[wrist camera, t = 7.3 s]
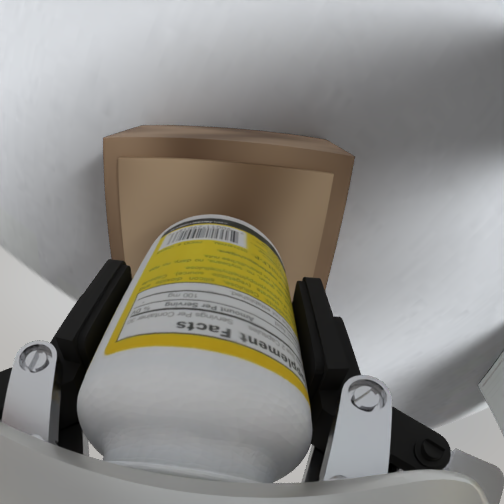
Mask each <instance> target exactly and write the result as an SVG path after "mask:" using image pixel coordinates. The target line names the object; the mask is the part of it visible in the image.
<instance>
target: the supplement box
mask: <svg viewBox="0 0 504 504" xmlns="http://www.w3.org/2000/svg"><path fill="white" fill-rule="evenodd" d="M478 387H479V389H480V391H481V392H482V394H483V396H484V398H485V400H486V402H487V404H488V406H489V407H490V409H491V411H492V413H493V415H494V417H495V419H496V421H497V423H498V425H499V427H500V430H501V432H502V434H503V436H504V351H503V352H502V354H501V355H500V357H499V358H498V359H497V361H496V362H495V364H494V365H493V366H492V368H491V369H490V370H489V372H488V373H487V374H486V376H485V377H484V378H483V379H482V381H481V382H480V383H479V385H478Z"/></svg>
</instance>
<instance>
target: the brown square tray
mask: <svg viewBox="0 0 504 504" xmlns="http://www.w3.org/2000/svg"><path fill="white" fill-rule="evenodd" d="M103 159H104V184H105V200H106V212H107V223H108V233H109V242H110V250H111V258H112V260H121V261H125V262H126V265H129V266H130V267H131V274H132V279H133V277H134V275H135V274H136V272H137V270H138V268H139V266H140V265H141V263H142V261H143V259H144V258H145V256H146V254H147V253H148V251H149V249H150V248H151V246H152V245H153V243H154V242H155V240H156V239H157V238H158V237H159V236H160V235H161V234H162V233H163V232H164V231H165V230H166V229H167V228H169V227H170V226H172V225H173V224H175V223H177V222H179V221H181V220H183V219H186V218H189V217H193V216H198V215H208V214H215V215H225V216H229V217H233V218H236V219H239V220H242V221H244V222H246V223H248V224H250V225H252V226H254V227H255V228H256V229H258V230H259V231H260V232H262V233H263V234H264V235H265V236H266V237H267V238H268V239H269V240H270V241H271V242H272V244H273V245H274V246H275V248H276V249H277V251H278V253H279V255H280V257H281V260H282V262H283V265H284V268H285V272H286V277H287V281H288V286H289V291H290V297H291V302H292V301H293V296H294V291H295V287H296V283H297V281H302V279H303V277H313V278H320V279H321V281H322V284H323V287H324V290H325V288H326V284H327V281H328V277H329V273H330V269H331V265H332V261H333V257H334V253H335V249H336V245H337V240H338V236H339V232H340V228H341V223H342V219H343V214H344V209H345V205H346V200H347V195H348V190H349V185H350V180H351V175H352V170H353V164H354V159H355V156H353V155H351V154H350V153H348V152H346V151H345V150H343V149H341V148H340V147H338V146H336V145H335V144H333V143H331V142H330V141H328V140H326V139H320V138H313V137H307V136H300V135H292V134H284V133H276V132H267V131H258V130H247V129H235V128H221V127H204V126H177V125H142V126H138V127H135V128H132V129H129V130H125V131H122V132H119V133H116V134H113V135H110V136H107V137H104V138H103Z"/></svg>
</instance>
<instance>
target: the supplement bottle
mask: <svg viewBox="0 0 504 504" xmlns="http://www.w3.org/2000/svg"><path fill="white" fill-rule="evenodd" d="M77 414H78V419H79V423H80V425H81V428H82V430H83V432H84V434H85V436H86V437H87V439H88V440H89V442H90V443H91V444H92V445H93V446H94V448H95V449H96V450H97V451H98V452H99V453H100V454H101V455H103V456H104V458H103V461H106V462H110V463H113V464H117V465H121V466H125V467H130V468H134V469H139V470H143V471H148V472H154V473H159V474H165V475H171V476H177V477H184V478H192V479H200V480H210V481H222V482H237V483H273V482H275V481H277V480H279V479H281V478H283V477H284V476H286V475H287V474H289V473H290V472H291V471H293V470H294V469H295V468H296V467H297V466H298V465H299V464H300V463H301V461H302V460H303V459H304V457H305V456H306V454H307V452H308V450H309V447H310V445H311V440H312V419H311V408H310V402H309V397H308V390H307V384H306V378H305V373H304V368H303V362H302V356H301V350H300V345H299V339H298V333H297V328H296V323H295V317H294V312H293V307H292V302H291V297H290V291H289V286H288V281H287V277H286V272H285V268H284V265H283V262H282V260H281V257H280V255H279V253H278V251H277V249H276V248H275V246H274V245H273V244H272V242H271V241H270V240H269V239H268V238H267V237H266V236H265V235H264V234H263V233H262V232H260V231H259V230H258V229H256V228H255V227H254V226H252V225H250V224H248V223H246V222H244V221H242V220H239V219H236V218H233V217H229V216H225V215H215V214H208V215H198V216H193V217H189V218H186V219H183V220H181V221H179V222H177V223H175V224H173V225H172V226H170V227H169V228H167V229H166V230H165V231H164V232H163V233H162V234H161V235H160V236H159V237H158V238H157V239H156V240H155V242H154V243H153V245H152V246H151V248H150V249H149V251H148V253H147V254H146V256H145V258H144V259H143V261H142V263H141V265H140V266H139V268H138V270H137V272H136V274H135V275H134V277H133V279H132V281H131V283H130V285H129V287H128V289H127V290H126V292H125V294H124V296H123V298H122V300H121V302H120V304H119V306H118V307H117V309H116V311H115V313H114V315H113V317H112V319H111V321H110V323H109V325H108V327H107V329H106V331H105V333H104V336H103V338H102V340H101V342H100V344H99V346H98V348H97V350H96V352H95V355H94V357H93V359H92V361H91V363H90V365H89V368H88V370H87V372H86V375H85V377H84V380H83V383H82V385H81V388H80V391H79V394H78V399H77Z"/></svg>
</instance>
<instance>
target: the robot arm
mask: <svg viewBox="0 0 504 504" xmlns="http://www.w3.org/2000/svg"><path fill="white" fill-rule="evenodd" d="M131 281H132V274H131V267H130V266H129V265H126V262H125V261H121V260H112V259H109V260H108V261H107V262H106V263H105V265H104V266H103V267H102V269H101V270H100V272H99V273H98V274H97V276H96V277H95V278H94V280H93V281H92V283H91V284H90V285H89V287H88V288H87V290H86V291H85V292H84V294H83V295H82V296H81V297H80V298H79V300H78V301H77V303H76V304H75V306H74V307H73V308H72V310H71V311H70V313H69V314H68V316H67V317H66V319H65V320H64V322H63V324H62V325H61V327H60V328H59V330H58V331H57V333H56V334H55V336H54V338H53V339H52V341H51V342H50V343H49V342H46V341H40V340H39V341H32V342H30V343H27V344H26V345H24V346H23V347H22V348H21V349H20V350H19V351H18V352H17V354H16V357H15V360H14V364H13V367H12V368H9V369H7V370H4V371H2V372H0V504H499V502H500V499H501V495H502V491H503V487H504V476H503V473H502V471H501V470H500V469H499V468H498V467H497V466H495V465H493V464H490V463H488V462H485V461H483V460H481V459H478V458H476V457H474V456H472V455H470V454H467V453H465V452H463V451H461V450H459V449H455V450H453V451H452V450H450V447H449V444H448V442H447V441H446V439H445V438H444V437H443V436H441V435H440V434H439V433H437V432H435V431H433V430H432V429H430V428H428V427H426V426H425V425H423V424H421V423H419V422H418V421H416V420H414V419H413V418H411V417H409V416H407V415H406V414H404V413H402V412H401V411H399V410H397V409H396V408H394V407H392V395H391V392H390V390H389V388H388V387H387V386H386V385H385V384H384V383H383V382H382V381H380V380H379V379H377V378H375V377H372V376H368V375H361V373H360V370H359V367H358V364H357V361H356V358H355V355H354V352H353V349H352V346H351V343H350V340H349V337H348V334H347V331H346V328H345V325H344V322H343V320H342V318H340V317H333V314H332V311H331V308H330V305H329V302H328V299H327V296H326V293H325V290H324V287H323V284H322V281H321V279H320V278H313V277H303V279H302V281H297V283H296V287H295V291H294V296H293V301H292V307H293V312H294V317H295V323H296V328H297V333H298V339H299V345H300V350H301V356H302V362H303V368H304V373H305V378H306V384H307V390H308V397H309V402H310V408H311V419H312V440H311V444H312V447H311V451H310V455H309V458H308V462H307V465H306V469H305V472H304V475H303V479H302V482H301V483H237V482H222V481H210V480H200V479H192V478H184V477H177V476H171V475H165V474H159V473H154V472H148V471H143V470H139V469H134V468H130V467H125V466H121V465H117V464H113V463H110V462H106V461H102V460H99V459H95V458H92V457H89V446H88V439H87V437H86V436H85V434H84V432H83V430H82V428H81V425H80V423H79V419H78V414H77V399H78V394H79V391H80V388H81V385H82V383H83V380H84V377H85V375H86V372H87V370H88V368H89V365H90V363H91V361H92V359H93V357H94V355H95V352H96V350H97V348H98V346H99V344H100V342H101V340H102V338H103V336H104V333H105V331H106V329H107V327H108V325H109V323H110V321H111V319H112V317H113V315H114V313H115V311H116V309H117V307H118V306H119V304H120V302H121V300H122V298H123V296H124V294H125V292H126V290H127V289H128V287H129V285H130V283H131Z"/></svg>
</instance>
